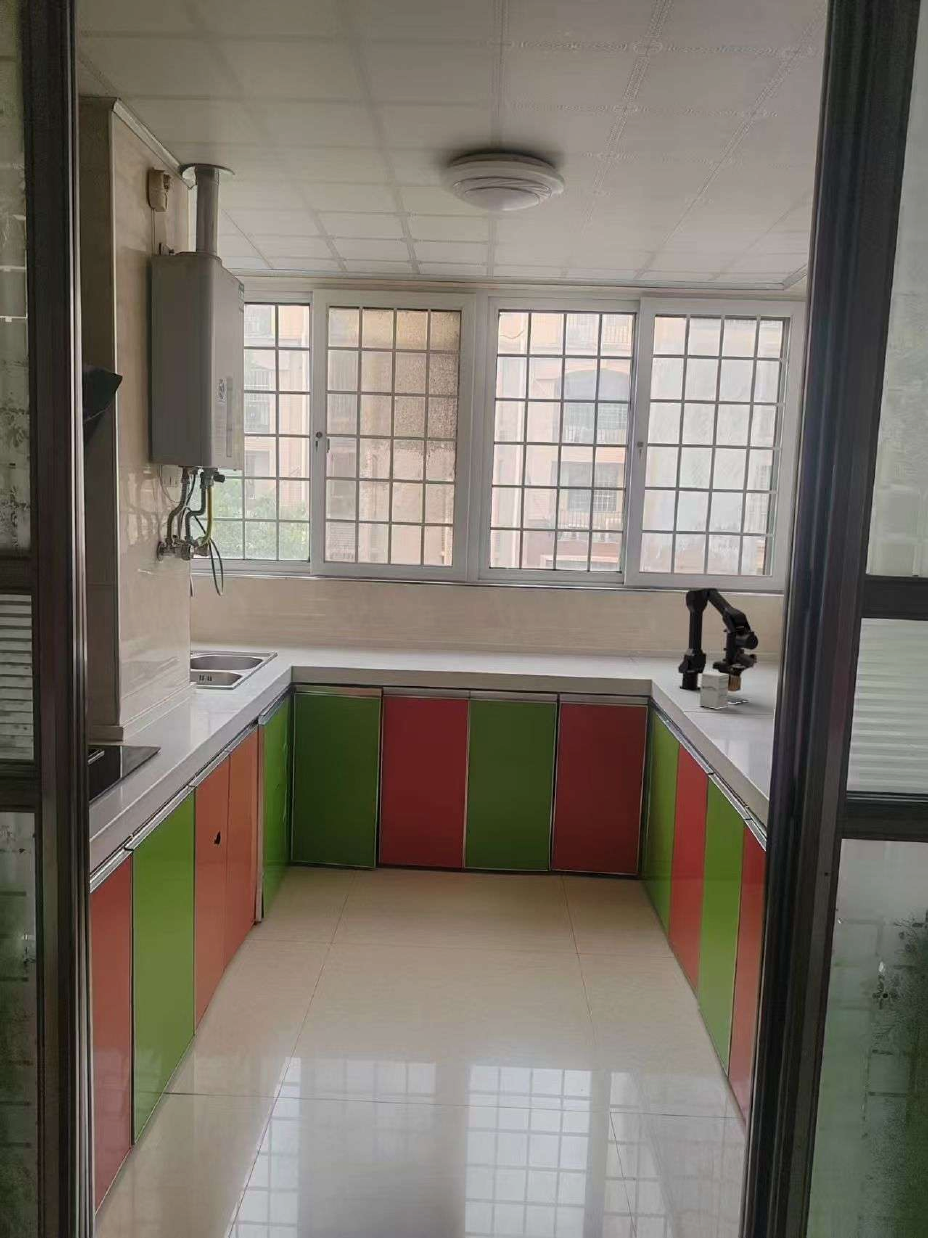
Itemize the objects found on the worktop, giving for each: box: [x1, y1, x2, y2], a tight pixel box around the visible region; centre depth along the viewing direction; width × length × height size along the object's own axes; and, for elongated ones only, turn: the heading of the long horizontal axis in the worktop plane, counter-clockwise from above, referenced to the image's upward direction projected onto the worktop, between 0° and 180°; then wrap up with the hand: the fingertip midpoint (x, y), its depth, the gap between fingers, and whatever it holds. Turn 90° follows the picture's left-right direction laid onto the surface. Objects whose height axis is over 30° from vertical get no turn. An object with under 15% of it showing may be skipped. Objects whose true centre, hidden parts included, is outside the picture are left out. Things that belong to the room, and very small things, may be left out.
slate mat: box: [727, 695, 749, 703], centre depth 366 cm, size 10×9×1 cm
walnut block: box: [728, 675, 742, 692], centre depth 366 cm, size 5×5×5 cm
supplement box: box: [699, 670, 729, 708], centre depth 354 cm, size 7×7×13 cm
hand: (731, 686), depth 366 cm, fingers closed on walnut block, 5 cm apart
